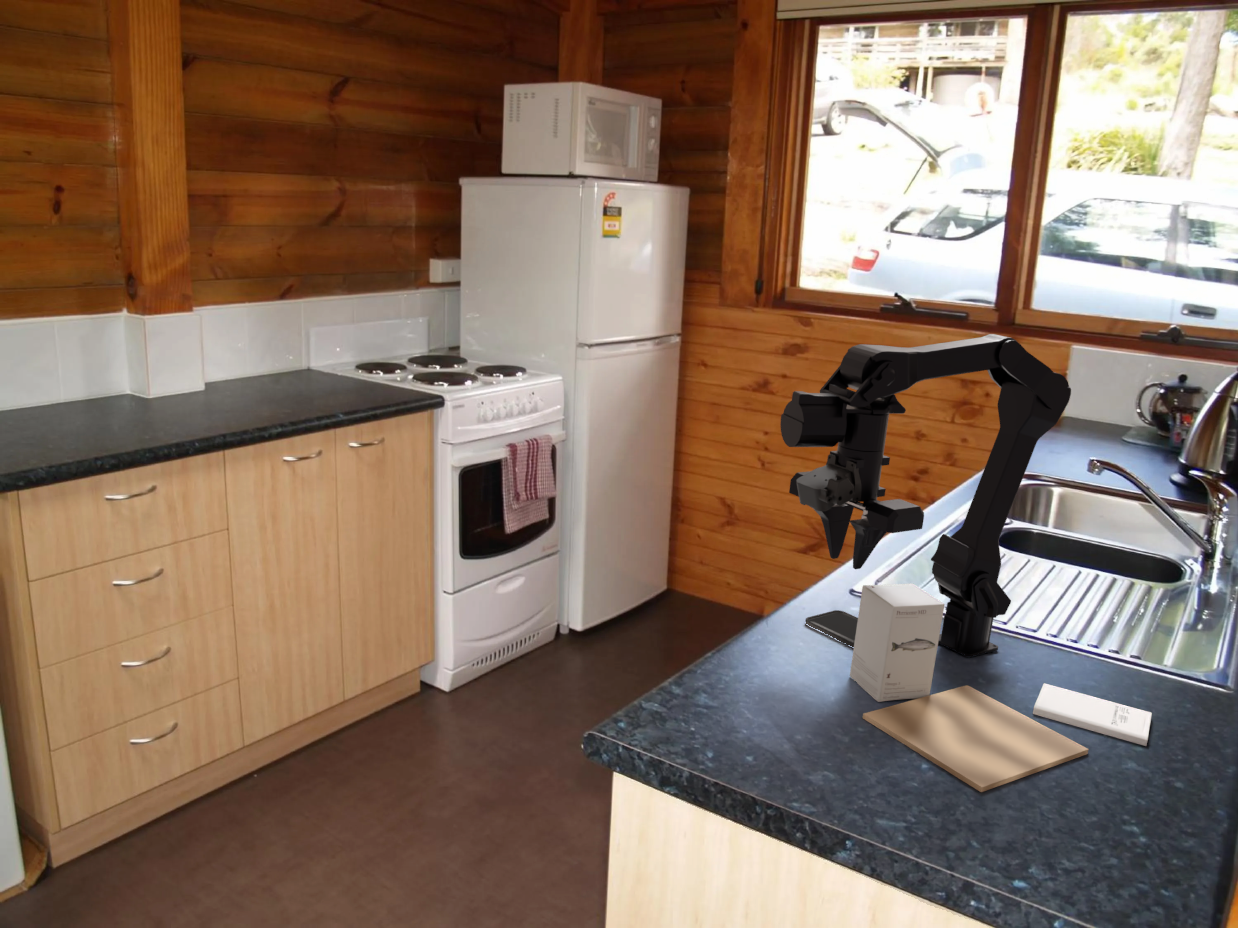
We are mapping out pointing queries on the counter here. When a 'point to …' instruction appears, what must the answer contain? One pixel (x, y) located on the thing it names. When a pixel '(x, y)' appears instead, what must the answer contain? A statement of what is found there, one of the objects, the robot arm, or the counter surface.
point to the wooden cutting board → (975, 737)
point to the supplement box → (896, 641)
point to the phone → (836, 625)
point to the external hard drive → (1093, 714)
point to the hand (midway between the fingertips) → (845, 563)
